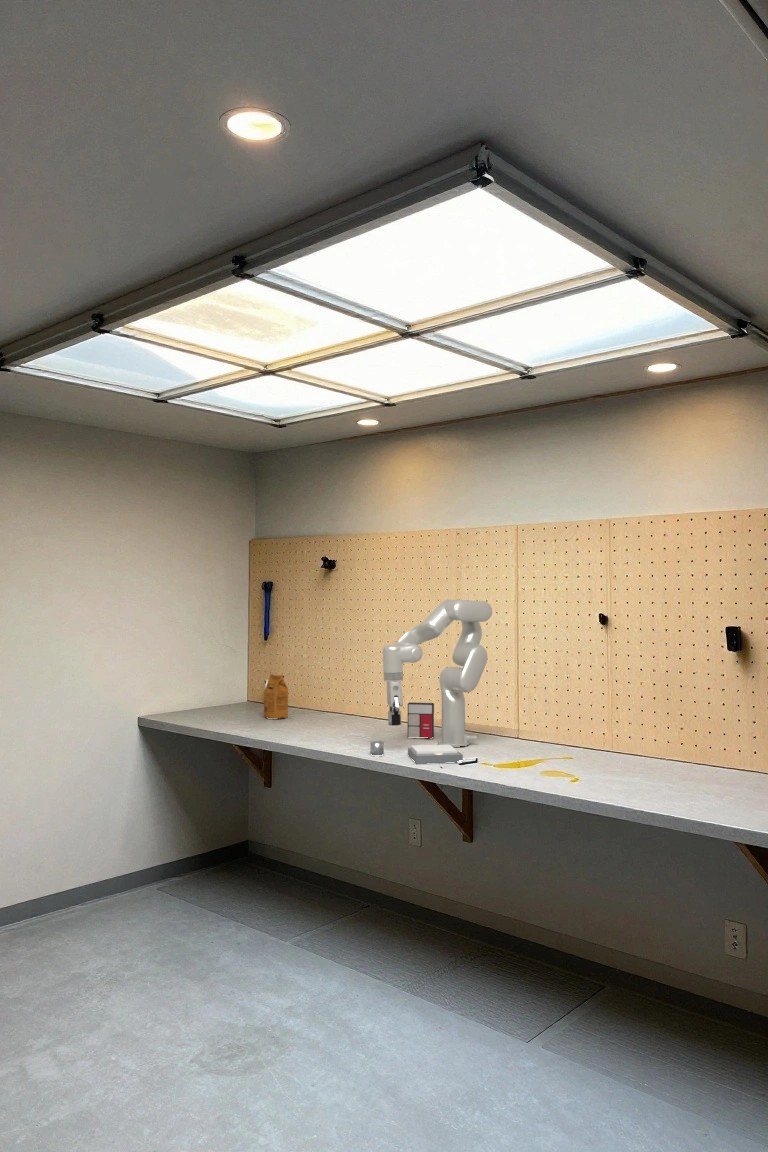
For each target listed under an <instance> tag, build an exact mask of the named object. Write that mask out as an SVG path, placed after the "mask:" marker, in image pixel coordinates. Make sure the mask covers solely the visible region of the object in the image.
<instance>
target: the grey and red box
mask: <svg viewBox="0 0 768 1152" xmlns="http://www.w3.org/2000/svg"><path fill="white" fill-rule="evenodd" d="M434 716H435V703H433V702H411V701H410V702H408V703H407V738H408V737H428V738H432V737H434V738H435V734H434V733H435V729H434V728H435V717H434Z"/></svg>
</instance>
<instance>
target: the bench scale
mask: <svg viewBox="0 0 768 1152" xmlns="http://www.w3.org/2000/svg"><path fill="white" fill-rule="evenodd" d="M408 755H409V756H410V757H411V758H412V759H413V760H414V761H415V762H414V761H413V760H412V759H411V758H410V757H409V756H408ZM407 756H408V757H409V758H410V759H411V760H412V761H413V762H414V763H415V764H416V765H428V764H427V763H445V762H457V761H459V760H463V761H464V754H462V752H460V751H459V750H457V748H456V747H452V746H451V745H438V744H425V745H424V744H422V745H421V744H417V745H416V744H415V745H414V744H413V745H410V747H408V748H407Z"/></svg>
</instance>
